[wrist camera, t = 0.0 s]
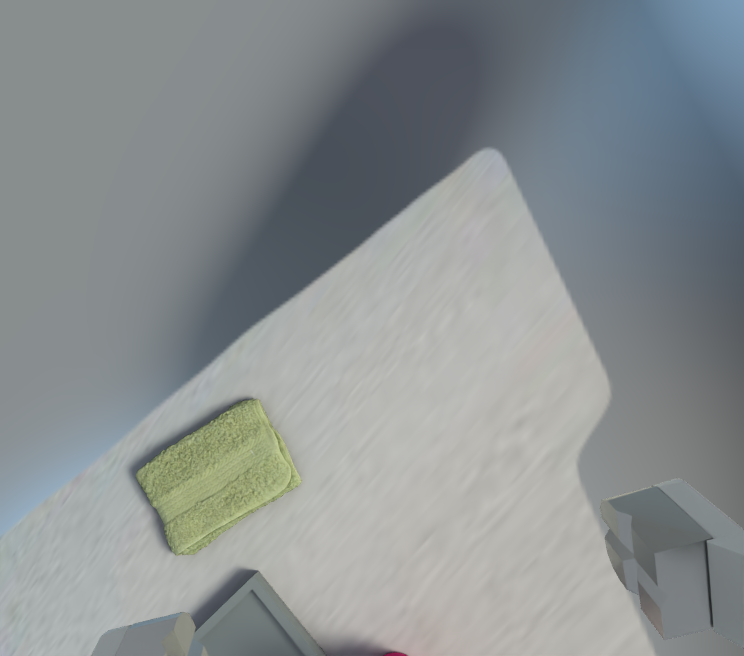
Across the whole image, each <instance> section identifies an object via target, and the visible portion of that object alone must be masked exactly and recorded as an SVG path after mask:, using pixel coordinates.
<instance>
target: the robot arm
mask: <svg viewBox="0 0 744 656" xmlns="http://www.w3.org/2000/svg"><path fill="white" fill-rule="evenodd" d="M600 509H601V516H602V519H603V520H604V522H605V523H606V524H607V525H608V527H609V528H610V529H609V530H608V533H607V534H606V536H605V543H606V548H607V553H608V556H609V558H610V561H611V564H612V566H613V569H614V570H615V572H616V574H617V576H618V578H619V579H620V581H621V582H622V583H623V585H624V586H625V588H626V589H627V590H629V591H631V592H633V593H635V594H637V595H639V596H640V604H641V609H642V611H643V612H644V613H645V615H646V616H647V617H648V619H649V620H650V621H651V623H652V624H653V625H654V627H655V628H656V630H657V631H658V632H659V634H660V635H661V636H662V638H663V639H664V640H667V639H671V638H676V637H680V636H684V635H688V634H693V633H696V632H701V631H705V630H709V629H714V632H716V633H718V634H719V635H721V636H723V637H725V638H726V639H728V640H730V641H732V642H733V643H735V644H737V645H738V646H740V647H742V648H743V649H744V529H743V528H741V527H740V526H739V525H738V524H736V523H735V522H734V521H733V520H732V519H730V518H729V517H728V516H727V515H726V514H724V513H723V512H722V511H721V510H719V509H718V508H717V507H716V506H714V505H713V504H712V503H711V502H710V501H708V500H707V499H706V498H705V497H703V496H702V495H701V494H700V493H699V492H697V491H696V490H695V489H694V488H692V487H691V486H690V485H689V484H688V483H686V482H685V481H684V480H681V479H678V478H676V479H673V480H669V481H666V482H663V483H659V484H656V485H653V486H651V487H647V488H644V489H641V490H637V491H633V492H629V493H626V494H622V495H618V496H615V497H611V498H607V499H604V500H601V506H600ZM195 628H196V626H195V624H194V622H193V620H192V618H191V616H190V614H189V613H185V612H180V613H176V614H172V615H168V616H164V617H160V618H156V619H152V620H147V621H143V622H139V623H135V624H133V625H129V626H124V627H120V628H116V629H112V630H108V631H107V632H106V633H105V634H103V635H102V636H101V637H100V639H99V641H98V643H97V645H96V647H95V649H94V651H93V653H92V655H91V656H208V654H207V651H206V649H205V647H204V645H203V644H201V643H199V642H198V641H196V640H194V639H193V635H194V632H195Z"/></svg>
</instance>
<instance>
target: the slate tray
mask: <svg viewBox="0 0 744 656" xmlns="http://www.w3.org/2000/svg"><path fill="white" fill-rule="evenodd" d="M193 639H194V640H196V641H198V642H199V643H201V644H203V645H204V647H205V649H206V651H207V654H208V656H327V655H326V654H325V653H324V652H323V650H322V649H321V648H320V647H319V645H318V644H317V643H316V642H315V640H314V639H313V638H312V637H311V636H310V634H309V633H308V632H307V631H306V629H305V628H304V627H303V626H302V624H301V623H300V622H299V621H298V619H297V618H296V617H295V616H294V614H293V613H292V612H291V611H290V609H289V608H288V607H287V606H286V605H285V603H284V602H283V601H282V600H281V598H280V597H279V596H278V595H277V593H276V592H275V591H274V590H273V588H272V587H271V586H270V585H269V583H268V582H267V581H266V580H265V578H264V577H263V576H262V575H261V574H260V572H259V571H258V572H257V573H256V574H255V575H253V576H252V577H251V578H250V579H249V580H248V581H247V582H246V583H245V584H244V585H243V586H242V587H241V588H240V589H239V590H238V591H237V592H236V593H235V594H234V595H233V596H232V597H231V598H230V599H229V600H228V601H227V602H226V603H225V604H223V605H222V606H221V607H220V608H219V609H218V610H217V611H216V612H215V613H214V614H213V615H212V616H211V617H210V618H209V619H208V620H207V621H206V622H205V623H204V624H203V625H202V626H201V627H200V628H199V629H198V630H197V631H196V632H195V633H194V635H193Z"/></svg>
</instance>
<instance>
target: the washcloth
mask: <svg viewBox="0 0 744 656" xmlns="http://www.w3.org/2000/svg"><path fill="white" fill-rule="evenodd" d="M136 478H137V481H138V482H139V483H140V485H141V487H142V489H143V490H144V492H145V493H147V497H148V498H149V501H150V504H151V505H152V507H155V508H156V509H157V512H158V514H159V515H160V517H161V519H162V521H163V523H164V531H165V535H166V536H167V537H166V538H167V542H168V545H169V546H170V547H171V550H172V552H173V553H174V554H175V555H176V556H178V555H181V554H182V555H186V554H187V555H193V554H195V553H197V552H198V550H201V548H204V547H207V545H208V544H209V543H211V541H212V540H215V539H216V538H217V537H218V536H219V535H220V534H221V533H223V532H224V531H226V530H227V529H229V528H230V527H232V526H233V525H234V524H237V522H238V521H240V520H242V519H243V518H245V517H246V516H248V515H249V514H250V513H253V512H254V511H256V509H259V508H260V507H263V506H266V505H267V504H268V503H270V502H273V501H275V500H276V499H277V498H279V497H281V496H283V494H284V493H286V492H289V491H291V490H292V489H294V488H295V487H297V486H298V485H299V484H300V483H301V482H302V480H301V479H300V477H299V475H298V473H297V471H296V469H295V467H294V465H293V463H292V460H291V458H290V455H289V452H288V450H287V448H286V446H285V444H284V442H283V439H282V438H281V437H280V435H279V434H278V433H277V431H276V430H275V429H274V428H273V426H272V425H271V423H270V421H269V419H268V417H267V415H266V413H265V412H264V410H263V407H262V405H261V403H260V400H259V399H255V400H253V399H251V400H248V401H247V400H245V401H241V402H237V404H235V405H233V406H230V409H228V410H227V411H226V412H224V413H222V414H220V415H219V416H218V417H217V418H215V419H214V420H211V422H209V423H208V424H206V425H205V426H202V427H201V428H200V429H198V430H197V431H195V432H193V433H192V434H190V435H187V436H185V437H184V438H183V439H181V440H180V441H179V442H178V443H176V444H174V445H172V446H169V447H168V448H167V449H166V450H163V451H162V452H161V453H160V454H159V455H157V456H156V457H155V458H153V459H152V461H150V462H149V463H146V464H145V466H143V467H142V468H140V469H139V470H138V472H137V474H136Z"/></svg>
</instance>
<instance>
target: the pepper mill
mask: <svg viewBox="0 0 744 656" xmlns="http://www.w3.org/2000/svg"><path fill="white" fill-rule="evenodd" d="M384 656H407V655H405V654H402V653H388V654H386V655H384Z"/></svg>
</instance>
